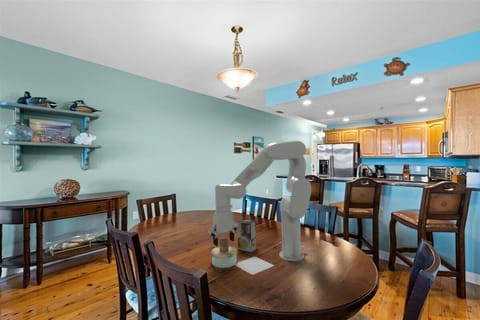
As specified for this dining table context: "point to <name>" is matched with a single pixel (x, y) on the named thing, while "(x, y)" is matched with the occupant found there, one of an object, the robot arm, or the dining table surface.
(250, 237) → the coffee box
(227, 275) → the dining table surface
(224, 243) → the lid
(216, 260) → the bowl
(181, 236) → the dining table surface
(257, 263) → the mat
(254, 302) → the dining table surface
